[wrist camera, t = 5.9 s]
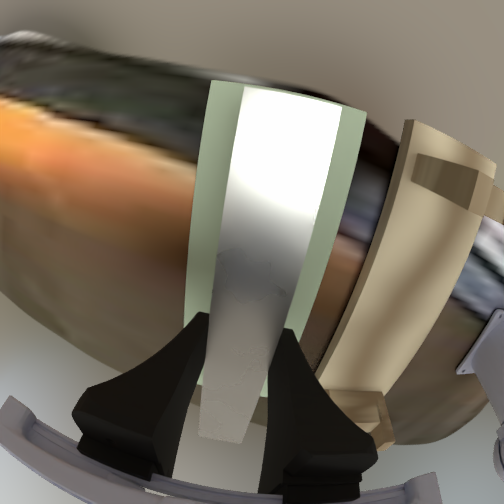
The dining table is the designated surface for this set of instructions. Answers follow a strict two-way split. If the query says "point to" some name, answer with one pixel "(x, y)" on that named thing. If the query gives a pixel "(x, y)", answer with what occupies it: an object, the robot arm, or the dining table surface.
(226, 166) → the mat
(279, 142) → the rail
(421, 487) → the robot arm
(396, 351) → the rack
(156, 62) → the dining table surface
